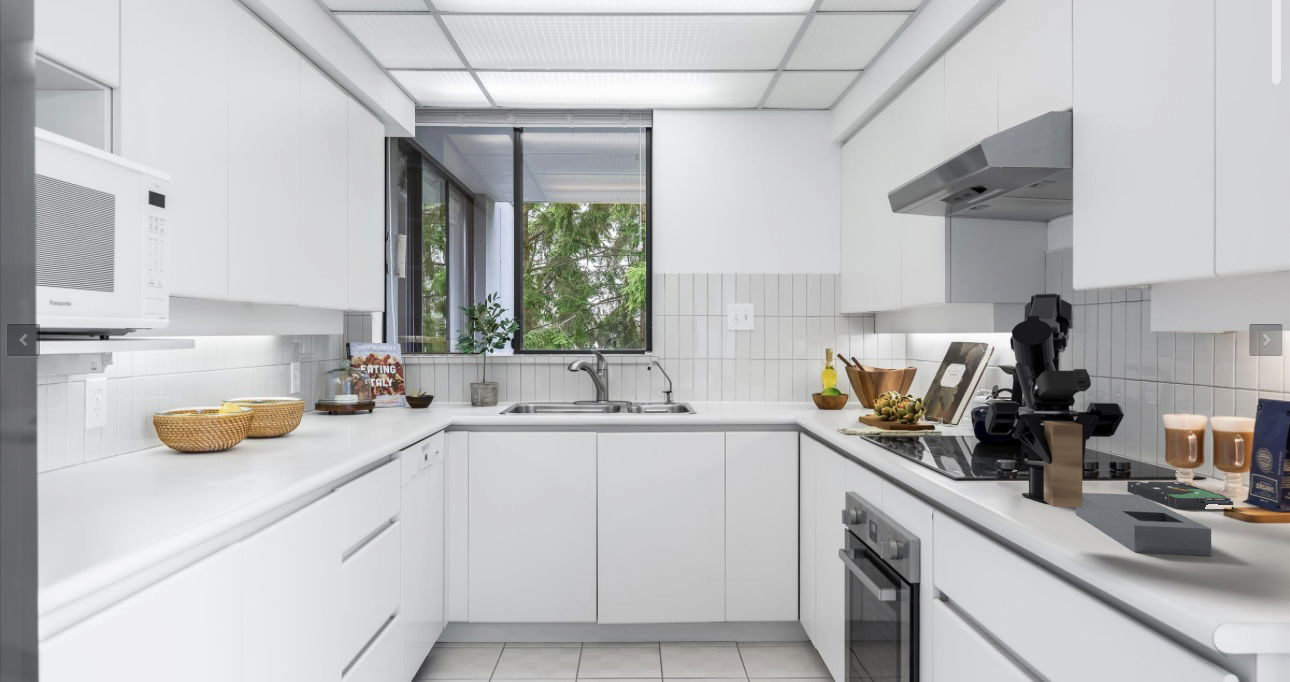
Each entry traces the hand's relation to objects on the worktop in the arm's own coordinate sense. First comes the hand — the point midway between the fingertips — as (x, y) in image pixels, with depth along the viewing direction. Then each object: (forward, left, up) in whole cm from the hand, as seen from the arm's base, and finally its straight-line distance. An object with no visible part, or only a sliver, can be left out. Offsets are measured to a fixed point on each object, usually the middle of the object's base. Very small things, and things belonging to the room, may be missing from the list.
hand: (1066, 462), depth 105 cm
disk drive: (-22, +44, -14) cm, 52 cm away
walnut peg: (-1, +1, -7) cm, 7 cm away
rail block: (-5, +17, -13) cm, 22 cm away
